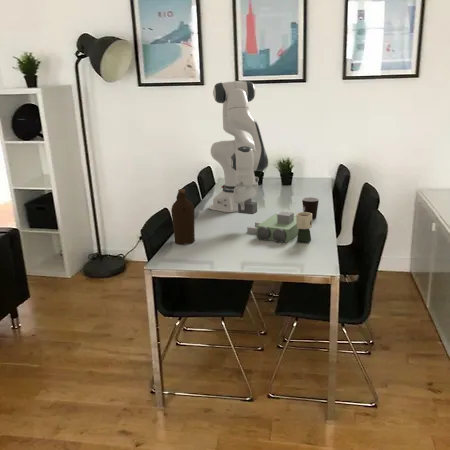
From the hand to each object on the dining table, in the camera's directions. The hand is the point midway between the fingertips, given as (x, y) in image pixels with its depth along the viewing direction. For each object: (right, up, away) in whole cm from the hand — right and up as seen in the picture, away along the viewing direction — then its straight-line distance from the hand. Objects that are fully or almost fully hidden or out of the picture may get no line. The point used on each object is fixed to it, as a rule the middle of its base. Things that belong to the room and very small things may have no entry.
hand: (246, 208), depth 254 cm
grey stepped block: (+1, -2, 0) cm, 2 cm away
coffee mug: (+35, -4, +20) cm, 41 cm away
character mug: (+26, -16, -18) cm, 35 cm away
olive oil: (-29, -16, -12) cm, 36 cm away
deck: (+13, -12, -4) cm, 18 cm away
